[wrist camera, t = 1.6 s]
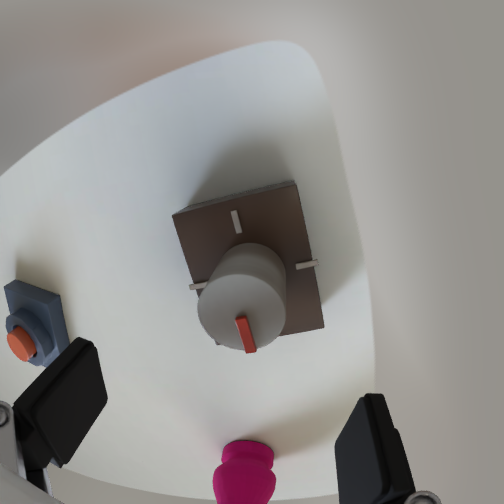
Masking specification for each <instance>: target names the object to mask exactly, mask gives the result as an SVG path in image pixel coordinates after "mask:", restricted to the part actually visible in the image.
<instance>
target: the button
mask: <svg viewBox="0 0 504 504" xmlns="http://www.w3.org/2000/svg"><path fill="white" fill-rule="evenodd" d="M7 341H8V344H9V346H10V348H11V350H12V351H13V353H14V354H15V355H16V356H17V357H18V358H19V359H20V360H22V361H25V362H26V361H28V360H29V359H30V358H31V357H32V356H33V355H34V354H35V353H36V351H37V350H36V347H35V343H34V342H33V340H32V339H31V337H30V335H29V334H28V333H27V332H26V331H25V330H24V329H23V328H22V327H20V326H17V327H16V328H14V329H13V330H12V331H11V332H9V333H8V335H7Z"/></svg>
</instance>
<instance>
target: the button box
mask: <svg viewBox="0 0 504 504" xmlns="http://www.w3.org/2000/svg"><path fill="white" fill-rule="evenodd" d="M4 290H5V295H6V299H7V303H8V307H9V311H10V315H9V316H8V317H7V318H6V329H7V332H8V333H9V332H11V331H12V330H13V329H14V328H16V327H17V326H20V327H22V328H23V329H24V330H25V331H26V332H27V333H28V334H29V335H30V337H31V339H32V340H33V342H34V343H35V347H36V350H37V351H36V353H35V354H34V355H33V356H32V357H31V358H30V359H29V360H28V362H30V363H31V364H33V365H35V366H41V365H42V366H44V367H46V368H47V367H48V366H49V365H50V364H51V363H52V362H53V361H54V360H55V359H56V358H57V357H58V356H59V355H60V354H61V353H62V352H63V351H64V350H65V349H66V348H67V347H68V346H69V345H70V343H69V339H68V334H67V330H66V325H65V321H64V316H63V311H62V305H61V300H60V295H57V294H54V293H51V292H48V291H45V290H43V289H40V288H37V287H34V286H31V285H29V284H26V283H23V282H21V281H18V280H14V281H12V282H10V283H9V284H7V285H6V286H4Z"/></svg>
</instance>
